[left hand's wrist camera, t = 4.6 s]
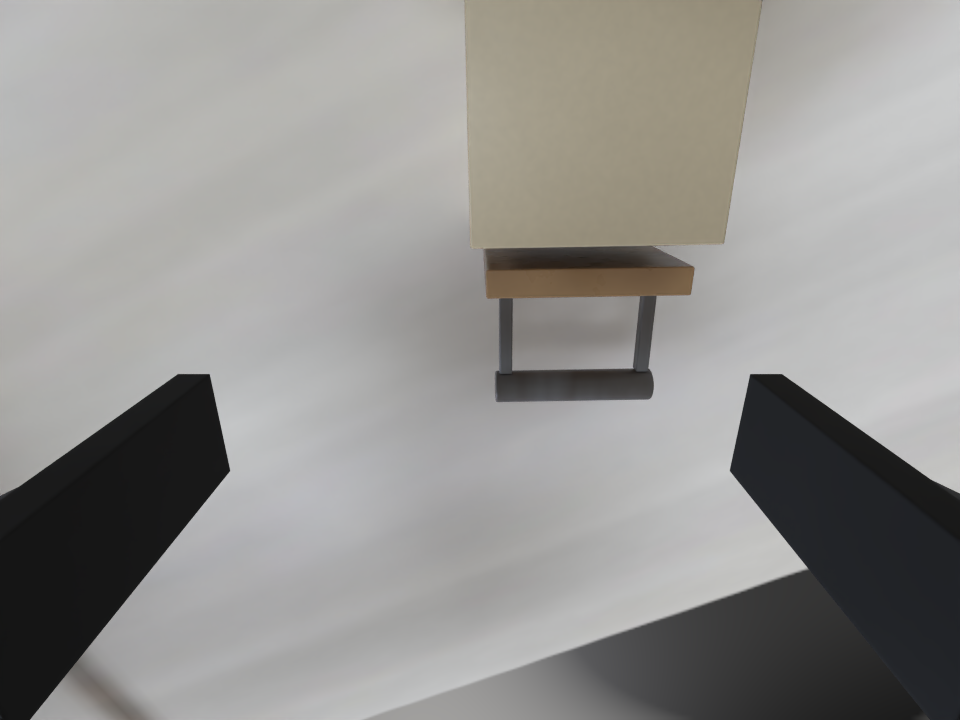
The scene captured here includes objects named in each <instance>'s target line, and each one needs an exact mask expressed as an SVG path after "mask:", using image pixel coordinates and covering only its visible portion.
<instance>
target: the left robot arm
mask: <svg viewBox="0 0 960 720" xmlns="http://www.w3.org/2000/svg"><path fill="white" fill-rule="evenodd" d="M229 472H230V468H229V463H228V458H227V454H226V449H225V444H224V439H223V435H222V430H221V425H220V421H219V416H218V411H217V407H216V402H215V397H214V393H213V388H212V383H211V378H210V374H178V375H176V376H175V377H173V378H172V379H171V380H169V381H168V382H166V383H165V384H164V385H162V386H161V387H159V388H158V389H156V390H155V391H154V392H152V393H151V394H149V395H148V396H147V397H145V398H144V399H142V400H141V401H140V402H138V403H137V404H135V405H134V406H133V407H131V408H130V409H128V410H127V411H125V412H124V413H123V414H121V415H120V416H118V417H117V418H116V419H114V420H113V421H111V422H110V423H109V424H107V425H106V426H104V427H103V428H101V429H100V430H99V431H97V432H96V433H94V434H93V435H92V436H90V437H89V438H87V439H86V440H85V441H83V442H82V443H80V444H79V445H77V446H76V447H75V448H73V449H72V450H70V451H69V452H68V453H66V454H65V455H63V456H62V457H61V458H59V459H58V460H56V461H55V462H53V463H52V464H51V465H49V466H48V467H46V468H45V469H44V470H42V471H41V472H39V473H38V474H37V475H35V476H34V477H32V478H31V479H29V480H28V481H27V482H25V483H24V484H22V485H21V486H20V487H18V488H16V489H14V490H11V491H9V492H7V493H5V494H3V495H1V496H0V720H30V719H31V718H32V716H33V715H34V714H35V713H36V711H37V710H38V709H39V708H40V707H41V705H42V704H43V703H44V702H45V700H46V699H47V698H48V697H49V695H50V694H51V693H52V692H53V690H54V689H55V688H56V687H57V685H58V684H59V683H60V682H61V680H62V679H63V678H64V677H65V675H66V674H67V673H68V672H69V670H70V669H71V668H72V667H73V666H74V664H75V663H76V662H77V661H78V659H79V658H80V657H81V656H82V654H83V653H84V652H85V651H86V649H87V648H88V647H89V646H90V644H91V643H92V642H93V641H94V639H95V638H96V637H97V636H98V634H99V633H100V632H101V631H102V629H103V628H104V627H105V626H106V624H107V623H108V622H109V621H110V620H111V618H112V617H113V616H114V615H115V613H116V612H117V611H118V610H119V608H120V607H121V606H122V605H123V603H124V602H125V601H126V600H127V598H128V597H129V596H130V595H131V593H132V592H133V591H134V590H135V588H136V587H137V586H138V585H139V583H140V582H141V581H142V580H143V579H144V577H145V576H146V575H147V574H148V572H149V571H150V570H151V569H152V567H153V566H154V565H155V564H156V562H157V561H158V560H159V559H160V557H161V556H162V555H163V554H164V552H165V551H166V550H167V549H168V547H169V546H170V545H171V544H172V542H173V541H174V540H175V539H176V537H177V536H178V535H179V534H180V533H181V531H182V530H183V529H184V528H185V526H186V525H187V524H188V523H189V521H190V520H191V519H192V518H193V516H194V515H195V514H196V513H197V511H198V510H199V509H200V508H201V506H202V505H203V504H204V503H205V501H206V500H207V499H208V498H209V496H210V495H211V494H212V493H213V492H214V490H215V489H216V488H217V487H218V485H219V484H220V483H221V482H222V480H223V479H224V478H225V477H226V475H227V474H228V473H229ZM730 472H731V473H732V474H733V475H734V477H735V478H736V479H737V480H738V482H739V483H740V484H741V485H742V487H743V488H744V489H745V490H746V492H747V493H748V494H749V495H750V496H751V498H752V499H753V500H754V501H755V503H756V504H757V505H758V506H759V508H760V509H761V510H762V511H763V513H764V514H765V515H766V516H767V518H768V519H769V520H770V521H771V523H772V524H773V525H774V526H775V528H776V529H777V530H778V531H779V533H780V534H781V535H782V536H783V537H784V539H785V540H786V541H787V542H788V544H789V545H790V546H791V547H792V549H793V550H794V551H795V552H796V554H797V555H798V556H799V557H800V559H801V560H802V561H803V562H804V564H805V565H806V566H807V567H808V569H809V570H810V571H811V572H812V574H813V575H814V576H815V577H816V579H817V580H818V581H819V582H820V583H821V585H822V586H823V587H824V588H825V590H826V591H827V592H828V593H829V595H830V596H831V597H832V598H833V600H834V601H835V602H836V603H837V605H838V606H839V607H840V608H841V610H842V611H843V612H844V613H845V615H846V616H847V617H848V618H849V620H850V621H851V622H852V623H853V624H854V626H855V627H856V628H857V629H858V631H859V632H860V633H861V634H862V636H863V637H864V638H865V639H866V641H867V642H868V643H869V644H870V646H871V647H872V648H873V649H874V651H875V652H876V653H877V654H878V656H879V657H880V658H881V659H882V661H883V662H884V663H885V664H886V665H887V667H888V668H889V669H890V670H891V672H892V673H893V674H894V675H895V677H896V678H897V679H898V680H899V682H900V683H901V684H902V685H903V687H904V688H905V689H906V690H907V692H908V693H909V694H910V695H911V697H912V698H913V699H914V700H915V702H916V703H917V704H918V705H919V706H920V708H921V709H922V710H923V711H924V713H925V714H926V715H927V716H928V718H929V719H930V720H960V493H957V492H955V491H953V490H951V489H949V488H947V487H945V486H943V485H941V484H939V483H937V482H934V481H932V480H931V479H929V478H928V477H926V476H925V475H923V474H922V473H921V472H919V471H918V470H916V469H915V468H914V467H912V466H911V465H909V464H908V463H907V462H905V461H904V460H902V459H901V458H899V457H898V456H897V455H895V454H894V453H892V452H891V451H890V450H888V449H887V448H885V447H884V446H883V445H881V444H880V443H878V442H877V441H875V440H874V439H873V438H871V437H870V436H868V435H867V434H866V433H864V432H863V431H861V430H860V429H859V428H857V427H856V426H854V425H853V424H851V423H850V422H849V421H847V420H846V419H844V418H843V417H842V416H840V415H839V414H837V413H836V412H835V411H833V410H832V409H830V408H829V407H827V406H826V405H825V404H823V403H822V402H820V401H819V400H818V399H816V398H815V397H813V396H812V395H811V394H809V393H808V392H806V391H805V390H804V389H802V388H801V387H799V386H798V385H796V384H795V383H794V382H792V381H791V380H789V379H788V378H787V377H785V376H784V375H782V374H750V378H749V383H748V388H747V393H746V397H745V402H744V407H743V411H742V416H741V421H740V425H739V430H738V435H737V439H736V444H735V449H734V454H733V458H732V463H731V468H730Z"/></svg>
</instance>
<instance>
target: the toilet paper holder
mask: <svg viewBox="0 0 960 720" xmlns="http://www.w3.org/2000/svg"><path fill="white" fill-rule="evenodd" d="M484 271H485V286H486V297H487V298H488V299H493V298H499V371H496V372H495V398H496V402H528V401H587V400H646V399H650V398H651V397H652V394H653V388H654V382H653V376H652V373H651V371H650V370H649V369H648V366H649V357H650V348H651V340H652V331H653V322H654V313H655V305H656V296H667V295H690V294H691V289H692V282H693V275H694V267H693V266H691V265H689V264H687V263H685V262H683V261H681V260H679V259H677V258H675V257H673V256H671V255H669V254H667V253H665V252H663V251H661V250H659V249H657V248H655V247H653V246H604V247H546V248H488V249H484ZM609 296H640V303H639V313H638V323H637V332H636V342H635V352H634V362H633V368H634V369H581V370H522V371H512V314H513V298H551V297H609Z"/></svg>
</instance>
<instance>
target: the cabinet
mask: <svg viewBox="0 0 960 720" xmlns="http://www.w3.org/2000/svg"><path fill="white" fill-rule="evenodd" d="M761 6H762V0H465V42H466V86H467V129H468V173H469V216H470V247H471V248H472V249H488V248H546V247H604V246H661V245H719V244H724V240H725V233H726V227H727V221H728V214H729V208H730V202H731V195H732V189H733V183H734V177H735V170H736V164H737V158H738V151H739V145H740V139H741V132H742V126H743V120H744V113H745V107H746V101H747V94H748V88H749V82H750V75H751V69H752V63H753V56H754V50H755V44H756V37H757V31H758V25H759V18H760V12H761Z"/></svg>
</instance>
